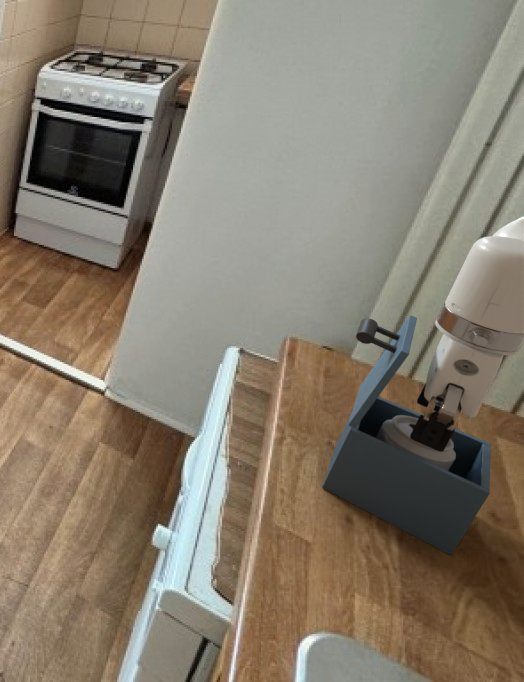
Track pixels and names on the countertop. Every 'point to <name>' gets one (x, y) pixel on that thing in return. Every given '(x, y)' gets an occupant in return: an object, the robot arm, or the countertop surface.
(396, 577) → the countertop surface
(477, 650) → the countertop surface
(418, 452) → the can
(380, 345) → the lid
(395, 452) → the compartment
